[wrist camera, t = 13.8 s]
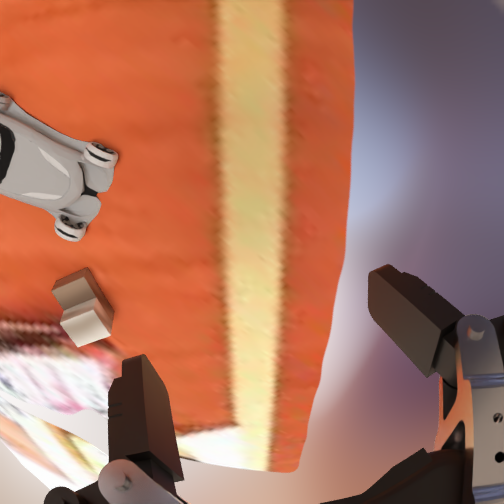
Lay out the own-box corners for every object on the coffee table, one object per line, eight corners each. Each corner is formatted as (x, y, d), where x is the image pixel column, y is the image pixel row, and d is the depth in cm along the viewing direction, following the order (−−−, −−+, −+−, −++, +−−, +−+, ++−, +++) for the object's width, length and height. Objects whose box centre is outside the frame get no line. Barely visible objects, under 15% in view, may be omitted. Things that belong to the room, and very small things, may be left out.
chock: (114, 310, 38) (110, 335, 33) (83, 322, 37) (77, 347, 33) (87, 266, 34) (79, 288, 30) (56, 280, 34) (45, 302, 29)
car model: (88, 239, 33) (79, 258, 29) (-59, 163, 23) (-81, 172, 18) (128, 151, 30) (122, 159, 26) (-32, 77, 20) (-54, 77, 16)
